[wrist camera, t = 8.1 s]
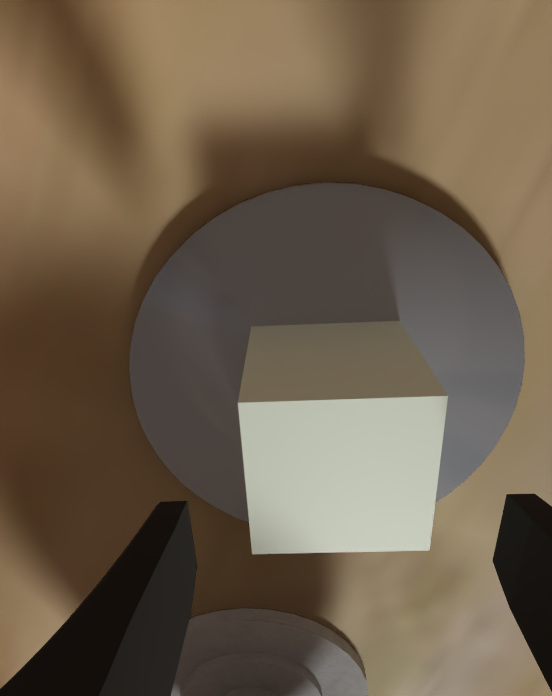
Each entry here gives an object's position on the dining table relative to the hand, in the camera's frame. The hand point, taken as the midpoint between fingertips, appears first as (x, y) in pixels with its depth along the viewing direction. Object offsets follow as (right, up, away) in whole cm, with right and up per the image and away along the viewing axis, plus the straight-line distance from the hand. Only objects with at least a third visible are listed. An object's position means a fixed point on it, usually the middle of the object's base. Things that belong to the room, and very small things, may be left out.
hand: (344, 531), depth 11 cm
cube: (0, +3, +6) cm, 7 cm away
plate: (0, +3, +7) cm, 7 cm away
